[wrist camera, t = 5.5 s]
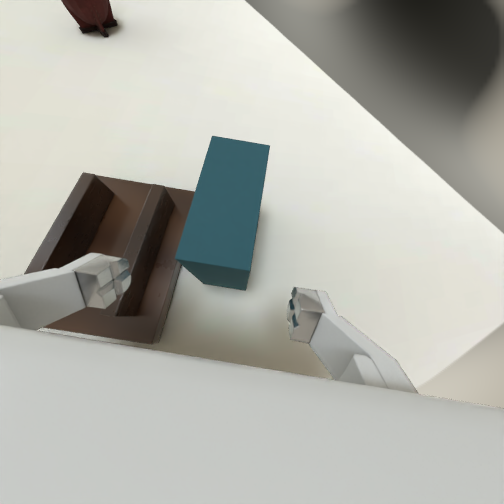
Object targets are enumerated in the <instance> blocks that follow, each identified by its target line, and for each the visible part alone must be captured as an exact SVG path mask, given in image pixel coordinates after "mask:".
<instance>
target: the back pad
mask: <svg viewBox="0 0 504 504" xmlns="http://www.w3.org/2000/svg"><path fill="white" fill-rule="evenodd" d="M269 149H270V146H269V145H264V144H258V143H252V142H246V141H240V140H234V139H228V138H222V137H217V136H212V138H211V142H210V145H209V148H208V151H207V155H206V158H205V161H204V164H203V168H202V171H201V174H200V177H199V181H198V184H197V187H196V190H195V194H194V197H193V200H192V203H191V207H190V210H189V213H188V216H187V220H186V223H185V226H184V230H183V233H182V236H181V239H180V243H179V246H178V249H177V252H176V256H175V259H176V260H177V261H178V262H179V263H180V264H181V265H183V266H184V267H185V268H186V269H187V270H188V271H189V272H191V273H192V274H193V275H194V276H195V277H196V278H198V279H199V280H200V281H201V282H202V283H203V284H209V285H215V286H221V287H227V288H233V289H240V290H246V287H247V282H248V278H249V274H250V269H251V263H252V257H253V250H254V244H255V237H256V231H257V225H258V218H259V212H260V206H261V199H262V193H263V187H264V180H265V174H266V168H267V161H268V155H269Z"/></svg>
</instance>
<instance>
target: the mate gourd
mask: <svg viewBox="0 0 504 504" xmlns="http://www.w3.org/2000/svg"><path fill="white" fill-rule="evenodd" d="M61 1H62V2H63V4H64V5H65V7H66V9H67V10H68V11H69V13H70V14H71V15H72V16H73V18H74V19H75V20H76V21H77V23H78V24H79V25H80V27H79V29H80V30H81V31H82V33H87V32H91V31H95V30H99V31H100V33H101V34H102V35H103V36H104V37H108V34H107V32H106V30H105V29H104V28H108V27H112V26H116V25H117V21H116V20H115V19H114V18H113V14H112V10H111V6H110V2H109V0H61Z"/></svg>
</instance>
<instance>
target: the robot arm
mask: <svg viewBox="0 0 504 504" xmlns="http://www.w3.org/2000/svg"><path fill="white" fill-rule="evenodd" d="M128 268H129V262H128V260H127V259H125V258H121V257H116V256H111V255H104V254H100V253H89V254H87V255H85V256H83V257H81V258H79V259H77V260H75V261H73V262H71V263H69V264H67V265H65V266H63V267H61V268H59V269H57V268H53V269H49V270H44V271H39V272H34V273H29V274H24V275H20V276H15V277H10V278H5V279H0V504H504V408H500V407H494V406H488V405H482V404H476V403H470V402H464V401H458V400H452V399H446V398H440V397H434V396H427V395H422V394H419V393H418V392H417V390H416V389H415V387H414V386H413V384H412V383H411V381H410V380H409V378H408V377H407V375H406V374H405V372H404V371H403V369H402V368H401V366H400V365H399V363H398V362H397V360H396V359H394V358H393V357H392V356H391V355H389V354H388V353H387V352H386V351H384V350H383V349H382V348H381V347H379V346H378V345H377V344H376V343H374V342H373V341H372V340H371V339H369V338H368V337H367V336H366V335H364V334H363V333H362V332H361V331H359V330H358V329H357V328H356V327H354V326H353V325H352V324H351V323H349V322H348V321H347V320H346V319H344V318H343V317H342V316H338V314H337V312H336V310H335V308H334V306H333V304H332V302H331V300H330V298H329V296H328V294H327V292H325V291H320V290H311V289H305V288H298V287H294V288H293V290H292V293H291V294H292V299H291V300H290V301H289V303H288V307H287V320H288V321H289V322H290V325H289V334H290V340H293V341H299V342H304V343H309V345H310V347H311V348H312V349H313V351H314V352H315V354H316V355H317V356H318V358H319V359H320V360H321V362H322V363H323V364H324V366H325V367H326V369H327V370H328V371H329V373H330V374H331V375H332V377H333V378H334V379H335V380H332V379H326V378H320V377H314V376H308V375H302V374H296V373H290V372H284V371H278V370H272V369H266V368H260V367H254V366H248V365H241V364H235V363H229V362H223V361H217V360H211V359H205V358H199V357H193V356H187V355H181V354H175V353H169V352H163V351H157V350H151V349H145V348H139V347H133V346H127V345H121V344H115V343H109V342H103V341H97V340H91V339H85V338H79V337H73V336H67V335H61V334H55V333H49V332H43V331H36V330H38V329H40V328H42V327H44V326H46V325H49V324H51V323H53V322H55V321H57V320H59V319H62V318H64V317H66V316H68V315H70V314H72V313H74V312H77V311H79V310H81V309H83V308H85V307H86V306H87V307H94V308H101V309H106V308H107V307H108V306H109V305H110V304H112V303H113V302H114V301H115V300H116V299H117V295H119V294H122V293H124V292H125V291H126V290H127V289H128V287H129V286H130V284H131V274H130V273H129V272H128V270H127V269H128Z"/></svg>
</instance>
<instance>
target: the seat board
mask: <svg viewBox="0 0 504 504" xmlns="http://www.w3.org/2000/svg"><path fill="white" fill-rule="evenodd" d="M194 194H195V192H194V191H188V190H182V189H176V188H170V187H165V186H162V185H156V184H146V183H140V182H134V181H128V180H122V179H116V178H110V177H104V176H98V175H95V174H90V173H82V175H81V177H80V178H79V180H78V182H77V183H76V185H75V187H74V189H73V190H72V192H71V194H70V196H69V197H68V199H67V201H66V202H65V204H64V206H63V208H62V209H61V211H60V213H59V215H58V216H57V218H56V220H55V221H54V223H53V225H52V227H51V228H50V230H49V232H48V234H47V235H46V237H45V239H44V240H43V242H42V244H41V246H40V247H39V249H38V251H37V253H36V254H35V256H34V258H33V259H32V261H31V263H30V265H29V266H28V268H27V270H26V272H25V273H24V274H29V273H34V272H39V271H44V270H49V269H53V268H57V269H59V268H61V267H63V266H65V265H67V264H69V263H71V262H73V261H75V260H77V259H79V258H81V257H83V256H85V255H87V254H89V253H100V254H104V255H111V256H116V257H121V258H125V259H127V260H128V262H129V268H128V269H127V270H128V272H129V273H130V274H131V284H130V286H129V287H128V289H127V290H126V291H125V292H124V293H122V294H119V295H117V299H116V300H115V301H114V302H113V303H112V304H110V305H109V306H108V307H107V308H106V309H101V308H94V307H87V306H86V307H85V308H83V309H81V310H79V311H77V312H74V313H72V314H70V315H68V316H66V317H64V318H62V319H59V320H57V321H55V322H53V323H51V324H49V325H46V326H44V328H50V329H56V330H63V331H69V332H76V333H82V334H88V335H95V336H101V337H107V338H114V339H120V340H126V341H133V342H139V343H145V344H154V343H157V342H159V339H160V336H161V333H162V329H163V326H164V322H165V319H166V315H167V312H168V309H169V305H170V302H171V298H172V295H173V291H174V288H175V284H176V281H177V278H178V274H179V271H180V267H181V264H180V263H179V262H178V261H177V260H176V259H175V256H176V252H177V249H178V246H179V243H180V239H181V236H182V233H183V230H184V226H185V223H186V220H187V216H188V213H189V210H190V207H191V203H192V200H193V197H194Z"/></svg>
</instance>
